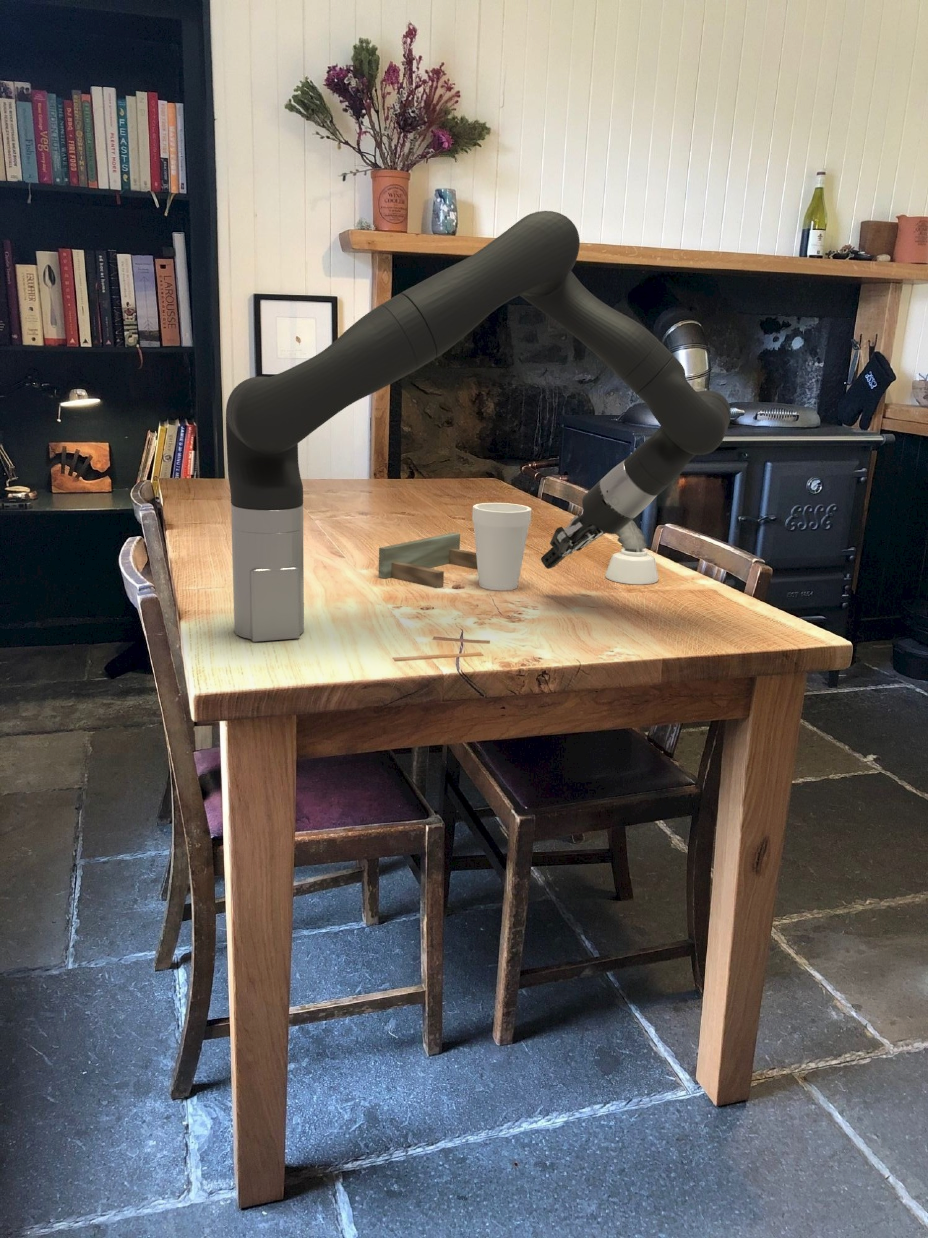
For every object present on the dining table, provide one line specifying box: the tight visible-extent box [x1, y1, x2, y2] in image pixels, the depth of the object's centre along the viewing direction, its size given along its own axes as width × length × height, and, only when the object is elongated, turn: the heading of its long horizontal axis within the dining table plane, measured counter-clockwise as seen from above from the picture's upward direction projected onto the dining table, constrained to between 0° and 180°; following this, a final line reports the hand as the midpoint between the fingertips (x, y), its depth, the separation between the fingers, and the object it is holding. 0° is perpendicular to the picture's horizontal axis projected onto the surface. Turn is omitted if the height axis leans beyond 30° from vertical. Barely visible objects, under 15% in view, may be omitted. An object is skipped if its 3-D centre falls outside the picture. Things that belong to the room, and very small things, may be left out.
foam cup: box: [471, 502, 532, 592], centre depth 160 cm, size 10×9×13 cm
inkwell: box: [604, 520, 659, 586], centre depth 173 cm, size 9×18×10 cm, turn 11°
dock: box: [378, 532, 478, 589], centre depth 168 cm, size 12×20×5 cm, turn 142°
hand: (546, 563), depth 155 cm, fingers closed
